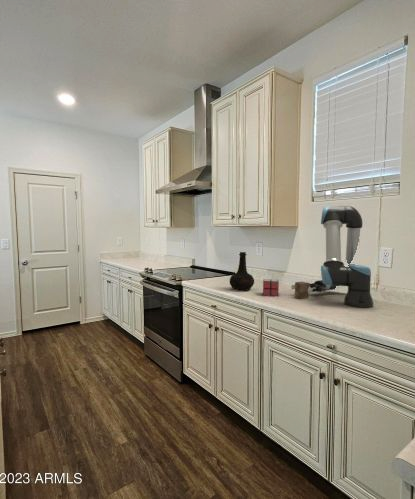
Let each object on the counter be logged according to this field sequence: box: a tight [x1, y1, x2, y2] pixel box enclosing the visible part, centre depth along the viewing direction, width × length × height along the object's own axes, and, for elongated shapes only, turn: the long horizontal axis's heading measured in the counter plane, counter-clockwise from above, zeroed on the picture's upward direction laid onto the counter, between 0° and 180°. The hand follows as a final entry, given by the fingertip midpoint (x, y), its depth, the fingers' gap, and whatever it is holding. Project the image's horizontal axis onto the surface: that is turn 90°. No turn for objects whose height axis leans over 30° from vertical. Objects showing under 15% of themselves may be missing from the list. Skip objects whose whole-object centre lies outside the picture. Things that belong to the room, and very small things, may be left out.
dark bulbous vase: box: [229, 251, 255, 292], centre depth 219 cm, size 18×18×28 cm
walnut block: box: [294, 281, 310, 300], centre depth 193 cm, size 6×6×10 cm
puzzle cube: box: [262, 278, 279, 297], centre depth 203 cm, size 10×10×10 cm
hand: (299, 288), depth 192 cm, fingers open, 13 cm apart
